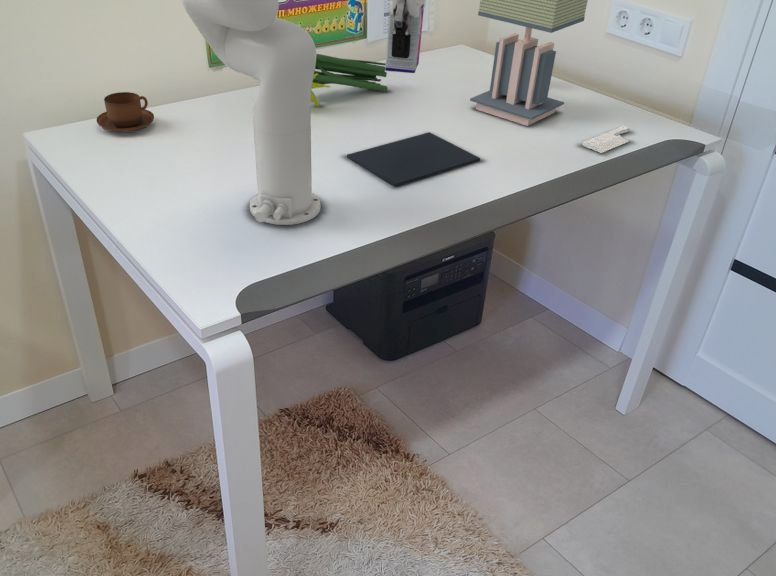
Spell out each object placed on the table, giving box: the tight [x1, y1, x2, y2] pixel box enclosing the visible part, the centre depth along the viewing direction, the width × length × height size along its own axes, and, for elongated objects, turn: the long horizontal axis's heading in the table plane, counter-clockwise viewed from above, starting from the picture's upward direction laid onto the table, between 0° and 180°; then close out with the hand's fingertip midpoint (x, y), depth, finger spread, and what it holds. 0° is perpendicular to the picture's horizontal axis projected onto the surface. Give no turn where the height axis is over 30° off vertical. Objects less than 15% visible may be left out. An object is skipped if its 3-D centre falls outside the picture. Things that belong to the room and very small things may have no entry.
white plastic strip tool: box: [581, 125, 630, 154], centre depth 157 cm, size 5×15×1 cm, turn 130°
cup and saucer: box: [96, 91, 155, 133], centre depth 155 cm, size 12×12×6 cm
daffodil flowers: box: [283, 16, 388, 107], centre depth 169 cm, size 17×15×35 cm
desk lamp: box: [469, 0, 589, 127], centre depth 160 cm, size 18×14×33 cm
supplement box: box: [385, 4, 425, 74], centre depth 133 cm, size 6×6×12 cm
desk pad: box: [346, 131, 481, 188], centre depth 147 cm, size 22×16×1 cm
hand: (403, 50), depth 134 cm, fingers closed on supplement box, 5 cm apart
